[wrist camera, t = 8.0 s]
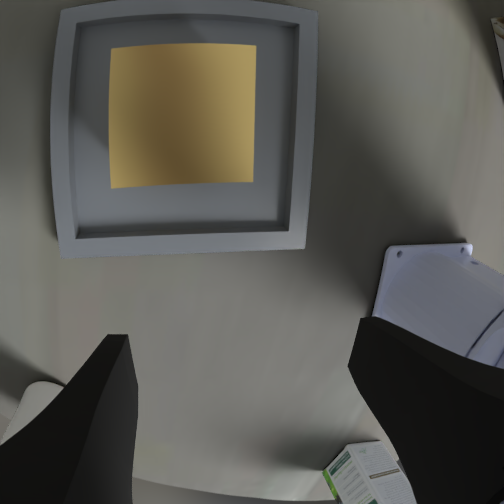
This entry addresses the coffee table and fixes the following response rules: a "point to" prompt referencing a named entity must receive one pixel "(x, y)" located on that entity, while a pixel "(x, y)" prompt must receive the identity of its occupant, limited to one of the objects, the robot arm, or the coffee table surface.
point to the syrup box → (367, 476)
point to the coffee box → (499, 37)
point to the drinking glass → (31, 405)
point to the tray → (183, 195)
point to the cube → (181, 114)
